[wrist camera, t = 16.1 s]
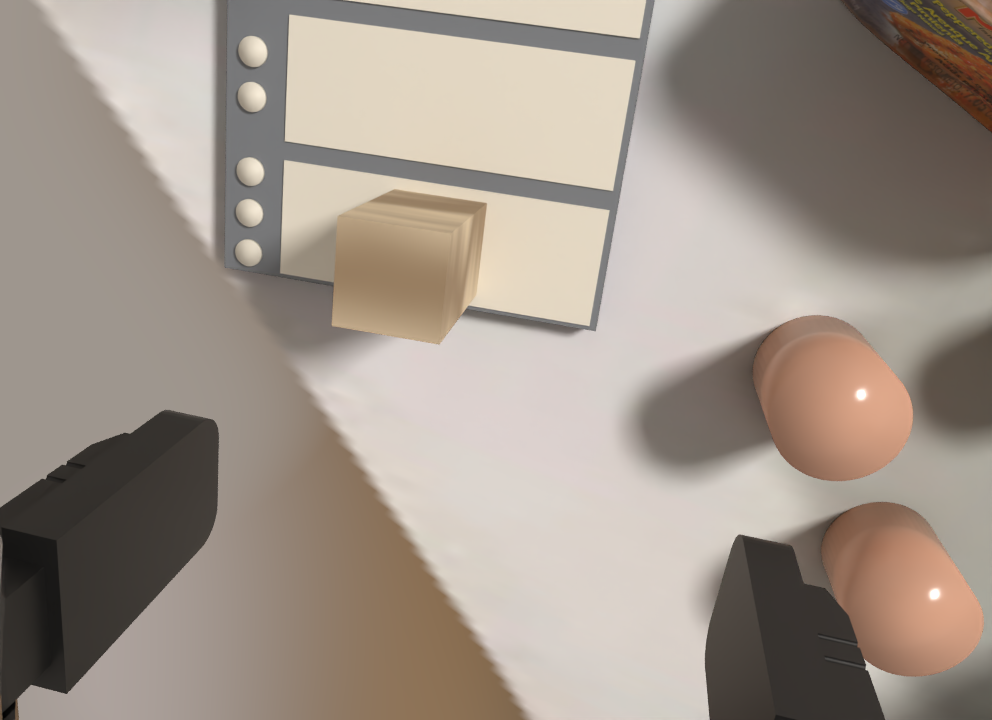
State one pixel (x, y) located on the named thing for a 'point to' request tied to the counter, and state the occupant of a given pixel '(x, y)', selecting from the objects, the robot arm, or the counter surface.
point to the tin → (939, 44)
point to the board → (436, 133)
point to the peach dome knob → (830, 399)
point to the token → (407, 264)
